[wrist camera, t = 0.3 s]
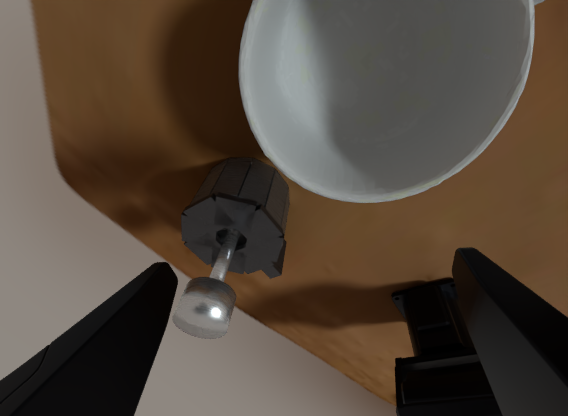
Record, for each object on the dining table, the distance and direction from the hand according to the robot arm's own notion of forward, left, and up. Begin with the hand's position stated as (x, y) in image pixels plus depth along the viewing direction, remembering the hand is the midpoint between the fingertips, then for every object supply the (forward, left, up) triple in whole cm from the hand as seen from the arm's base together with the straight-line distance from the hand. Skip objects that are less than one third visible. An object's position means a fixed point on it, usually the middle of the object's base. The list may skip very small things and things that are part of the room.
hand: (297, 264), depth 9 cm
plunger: (-3, +8, -10) cm, 13 cm away
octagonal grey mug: (-3, +9, -14) cm, 17 cm away
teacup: (+1, -5, -14) cm, 15 cm away
